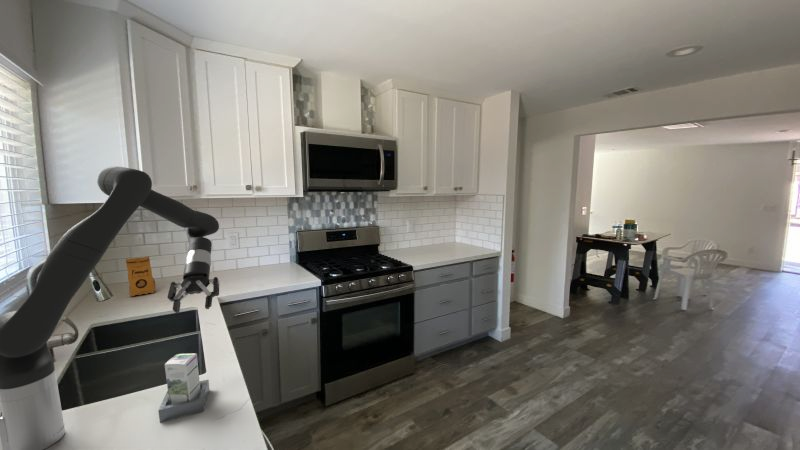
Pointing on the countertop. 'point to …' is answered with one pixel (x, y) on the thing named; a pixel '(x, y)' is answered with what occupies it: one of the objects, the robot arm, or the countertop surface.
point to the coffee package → (140, 276)
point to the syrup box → (182, 378)
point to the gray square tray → (184, 405)
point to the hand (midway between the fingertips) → (192, 310)
